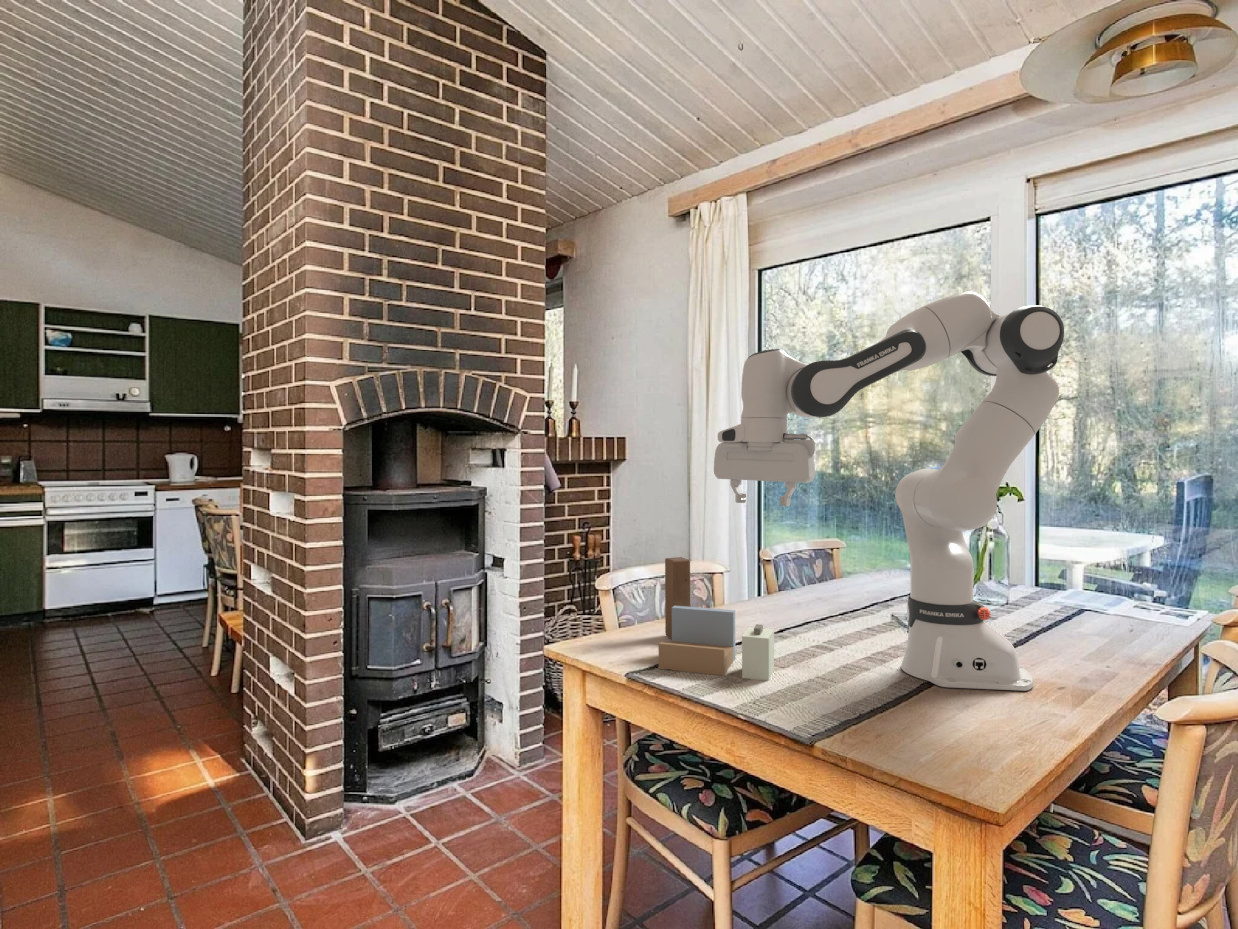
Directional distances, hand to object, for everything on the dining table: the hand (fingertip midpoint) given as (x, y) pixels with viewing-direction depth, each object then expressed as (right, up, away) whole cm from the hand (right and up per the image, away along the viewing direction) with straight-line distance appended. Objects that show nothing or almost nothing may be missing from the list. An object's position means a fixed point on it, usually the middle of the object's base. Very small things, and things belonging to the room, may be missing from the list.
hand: (762, 504), depth 141 cm
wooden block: (-14, -32, +22) cm, 41 cm away
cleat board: (-12, -32, +4) cm, 35 cm away
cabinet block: (-1, -33, -2) cm, 33 cm away
